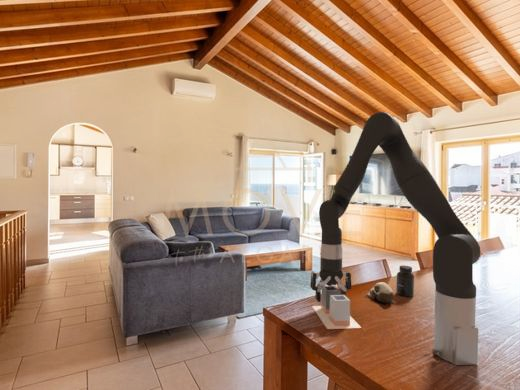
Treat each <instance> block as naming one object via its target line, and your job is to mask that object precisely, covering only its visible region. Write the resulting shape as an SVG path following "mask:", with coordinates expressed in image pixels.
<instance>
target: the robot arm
mask: <svg viewBox="0 0 520 390" xmlns="http://www.w3.org/2000/svg"><path fill="white" fill-rule="evenodd" d="M378 147H379V148H380V149H381V150H382V151H383V152H384V154H385V155H386V157H387V159H388V161H389V163H390V165H391V168H392V171H393V175H394V178H395V182H396V183H397V185H398V187H399V189H400V190H401V192H402V194H403V195H404V198H405V199H406V201H408V203H409V204H410V205H411V206H412V207H413V209H414V210H416V211H417V212H418V213H419V214H420V215H421V216H422V217H423V218H424V219H425V220H426V221H427V222H428V224H429V225H430V226H431V227H432V229H433V231H434V233H435V234H436V236H437V239H436V241H435V243H434V245H433V249H432V276H433V277H432V279H433V282H434V284H435V291H434V293H435V296H434V329H433V331H434V332H433V341H434V342H433V349H434V351H436V352H437V353H436V352H435V355H436V356H438V357H439V358H441V359H442V360H444V361H447V362H450V363H452V364H453V365H455V366H466V365H467V366H468V365H478V353H479V351H478V350H479V348H478V347H479V345H478V342H479V328H478V327H477V326H476V307H477V306H476V305H477V303H476V302H477V287H476V285H475V283H474V280H473V279H474V278H473V276H474V275H473V268H474V267H473V265H474V264H475V263H476V262H478V260H479V259H480V256H481V247H480V244H479V242H478V241H477V239H476V238H475V237H474V235H473V234H472V233H471V232H470V230H469V229H468V228H467V227H466V226H465V224H464V223H463V222H462V221H461V219H460V218H459V217H458V216H457V214H456V213H455V211H454V210H453V208H452V207H451V204H450V202H449V201H448V199H447V197H446V196H445V195H444V193H443V191H442V190H441V188H440V187H439V184H438V183H437V181H436V179H435V178H434V176H433V175H432V173H431V172H430V171H429V169H428V168H427V166H426V165H425V164H424V162H423V161H422V160H421V159H420V157H419V156H418V155H417V154H416V153H415V151H414V150H413V148H412V147H411V146H410V144H409V142H408V140H407V138H406V136H405V134H404V131H403V130H402V127H401V125H400V123H399V122H398V120H397V119H395V118H394V117H393V116H392V115H391V114H389V113H388V112H384V111H378V112H375V113H373V114H371V116H369V117H368V118H367V120H366V122H365V124H364V126H363V128H362V131H361V133H360V136H359V138H358V141H357V142H356V145H355V147H354V150H353V152H352V155H351V156H350V158H349V161H348V163H347V164H346V166H345V168H344V170H343V171H342V173H341V175H340V177H339V178H338V180H337V182H336V184H335V185H334V188H333V191H334V192H333V194H332V196H331V198H330V199H327V200H324V201H323V202H322V203H321V204H320V206H319V211H318V215H319V216H318V217H319V223H320V228H321V244H320V251H319V253H320V254H319V255H320V257H319V259H320V262H319V263H320V269H319V270H320V271H319V272H316V271H311V273H310V274H311V275H310V285H309V286H310V287H309V288H310V289H311V290H312V291H315V300H316V302H318V303H321V299H322V288H323V287H325V286H336V285H338V286H339V288H340V289H339V290H340V295H345V296H346V297H347V295H346V294H347V291H349V290H352V274H351V272H349V271H348V270H345V271H344V272H343V243H342V241H343V239H342V238H343V234H342V233H343V231H342V228H340V223H339V220H340V219H341V217H343V215H344V214H345V212H346V211H347V209H348V208H349V204H350V202H351V200H352V199H353V198H352V197H353V196H354V194H355V193H356V192H357V190H358V188H359V187H360V186H361V184H362V182H363V180H364V178H365V175H366V173H367V170H368V169H367V168H368V165H369V164H370V163H369V162H370V160H371V157H373V156H372V155H373V154H374V153H375V151H376V149H377V148H378ZM319 277H320V279H319V281H318V283H317V280H318V278H319ZM343 277H344V278H345V279H344V280H345V283H343V282H342V278H343ZM344 284H345V285H344Z"/></svg>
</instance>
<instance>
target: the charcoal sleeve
mask: <svg viewBox="0 0 520 390" xmlns="http://www.w3.org/2000/svg"><path fill="white" fill-rule="evenodd" d="M340 290H341V289H339V288H338V287H337V286H336V285H325V287H323V288H322V289H321V302H320V303H321V305H320V306H321V308H322V310H323V311H324V312H325V313H326V314H330V295H340Z"/></svg>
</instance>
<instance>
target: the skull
mask: <svg viewBox="0 0 520 390" xmlns="http://www.w3.org/2000/svg"><path fill="white" fill-rule="evenodd" d="M364 298H365V299H370V300H371V301H372V302H374V303H376V304H377V305H378V306H379V307H386V306H387V305H393V304H397V301H396V300H395V298H394V291H393V289H392V287H390V285H389V284H388V283H386V282H381V281H380V282H377V283H375V285H373V286H372V288H370V289H369V292H368V293H367V294H366V295H365V296H364Z"/></svg>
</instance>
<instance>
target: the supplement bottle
mask: <svg viewBox="0 0 520 390" xmlns="http://www.w3.org/2000/svg"><path fill="white" fill-rule="evenodd" d="M412 272H413V267H411V266H409V265H404V264H403V265H400V266H399V270H398V272H397V273H396V285H395V288H396V289H395V292H396V294H397V295H398V296H400V297H404V298H411V297H414V295H415V293H414V292H415V275H414V274H413V273H412Z"/></svg>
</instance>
